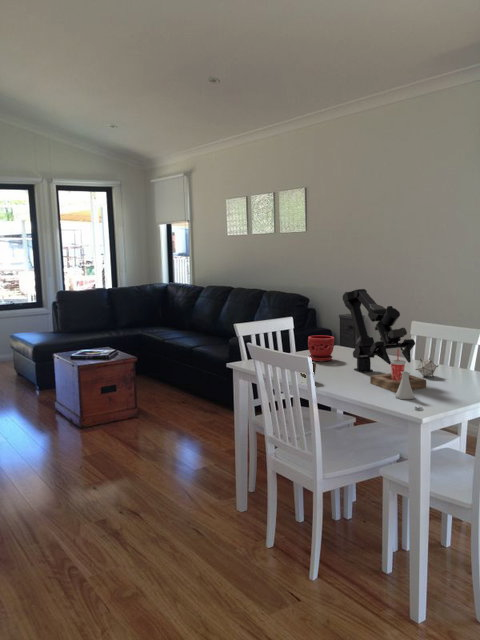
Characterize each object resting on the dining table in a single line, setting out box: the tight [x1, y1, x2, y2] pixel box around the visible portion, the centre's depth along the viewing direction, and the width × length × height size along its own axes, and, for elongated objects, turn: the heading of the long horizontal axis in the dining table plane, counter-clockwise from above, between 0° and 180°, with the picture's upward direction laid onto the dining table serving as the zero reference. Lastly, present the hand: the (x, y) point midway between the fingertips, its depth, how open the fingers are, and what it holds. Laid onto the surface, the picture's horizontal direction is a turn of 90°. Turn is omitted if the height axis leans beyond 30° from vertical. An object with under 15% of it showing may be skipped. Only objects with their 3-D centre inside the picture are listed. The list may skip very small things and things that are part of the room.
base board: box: [369, 373, 427, 393], centre depth 241 cm, size 16×16×3 cm
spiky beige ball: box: [415, 357, 439, 378], centre depth 255 cm, size 9×8×10 cm
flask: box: [395, 370, 415, 400], centre depth 223 cm, size 7×7×10 cm
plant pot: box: [307, 334, 335, 362], centre depth 294 cm, size 13×13×12 cm
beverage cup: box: [390, 348, 406, 382], centre depth 241 cm, size 6×6×14 cm
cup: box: [299, 362, 317, 378], centre depth 251 cm, size 8×7×8 cm
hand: (400, 363), depth 239 cm, fingers open, 9 cm apart
